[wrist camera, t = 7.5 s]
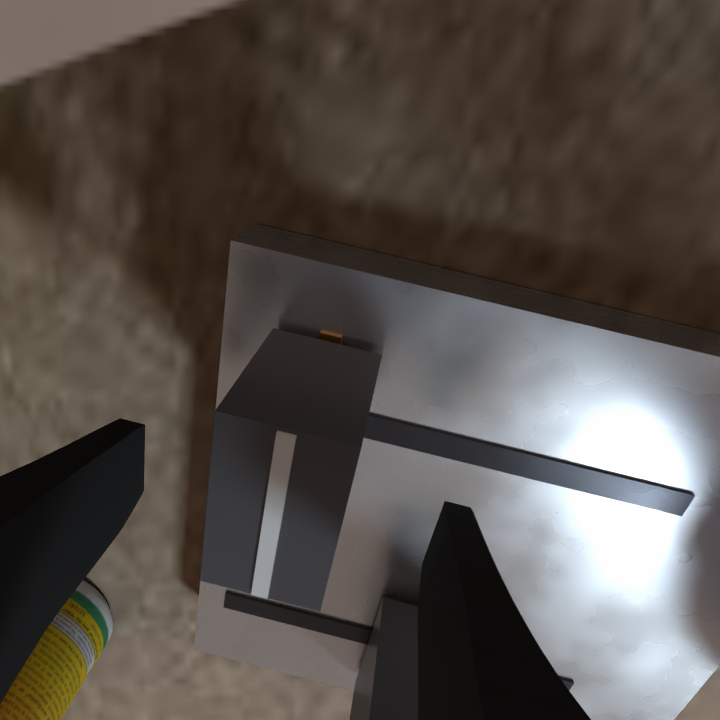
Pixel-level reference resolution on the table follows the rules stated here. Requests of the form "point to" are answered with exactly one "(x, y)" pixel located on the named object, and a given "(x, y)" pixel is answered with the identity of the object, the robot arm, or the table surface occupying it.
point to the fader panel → (499, 469)
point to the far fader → (389, 666)
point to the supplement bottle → (61, 659)
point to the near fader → (285, 467)
